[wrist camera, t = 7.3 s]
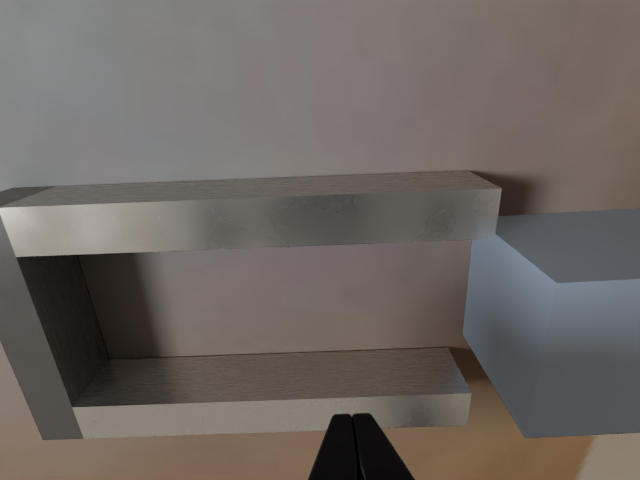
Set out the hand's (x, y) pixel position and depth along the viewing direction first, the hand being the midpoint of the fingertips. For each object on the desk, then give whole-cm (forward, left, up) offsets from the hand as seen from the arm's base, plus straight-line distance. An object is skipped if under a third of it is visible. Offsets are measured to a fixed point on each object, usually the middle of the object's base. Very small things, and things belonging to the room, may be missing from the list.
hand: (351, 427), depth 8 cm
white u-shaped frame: (+2, 0, -6) cm, 7 cm away
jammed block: (-9, 0, -7) cm, 11 cm away
